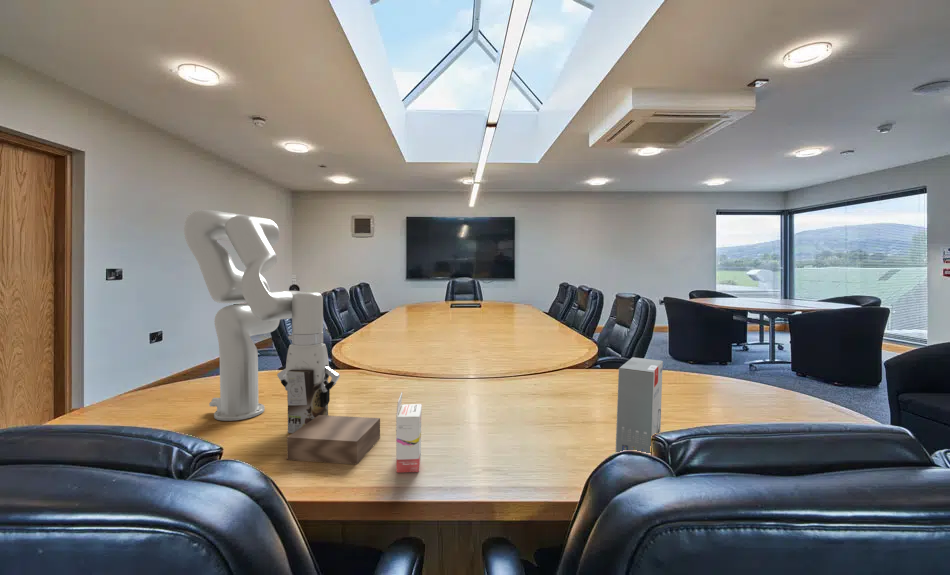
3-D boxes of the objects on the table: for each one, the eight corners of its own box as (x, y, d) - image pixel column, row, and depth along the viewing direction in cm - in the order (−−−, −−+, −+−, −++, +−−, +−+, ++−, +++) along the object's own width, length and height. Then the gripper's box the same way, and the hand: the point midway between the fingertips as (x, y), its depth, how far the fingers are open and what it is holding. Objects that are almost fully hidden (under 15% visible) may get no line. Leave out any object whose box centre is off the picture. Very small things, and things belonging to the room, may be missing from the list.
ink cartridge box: (420, 472, 84) (420, 402, 83) (395, 473, 84) (395, 402, 83) (422, 454, 93) (422, 390, 92) (399, 454, 92) (399, 390, 92)
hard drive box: (651, 462, 89) (653, 372, 88) (615, 454, 93) (616, 367, 92) (661, 438, 102) (663, 359, 101) (629, 432, 106) (630, 356, 106)
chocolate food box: (309, 435, 103) (308, 371, 102) (286, 433, 104) (286, 370, 103) (329, 422, 112) (328, 363, 111) (308, 420, 113) (307, 362, 112)
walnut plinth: (287, 459, 89) (286, 437, 89) (319, 434, 103) (319, 415, 103) (357, 464, 87) (356, 441, 87) (380, 438, 101) (380, 418, 101)
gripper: (268, 340, 104) (269, 408, 105) (332, 342, 102) (333, 411, 103) (285, 336, 112) (286, 399, 112) (345, 338, 110) (346, 402, 110)
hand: (308, 404), depth 108 cm, fingers open, 8 cm apart
